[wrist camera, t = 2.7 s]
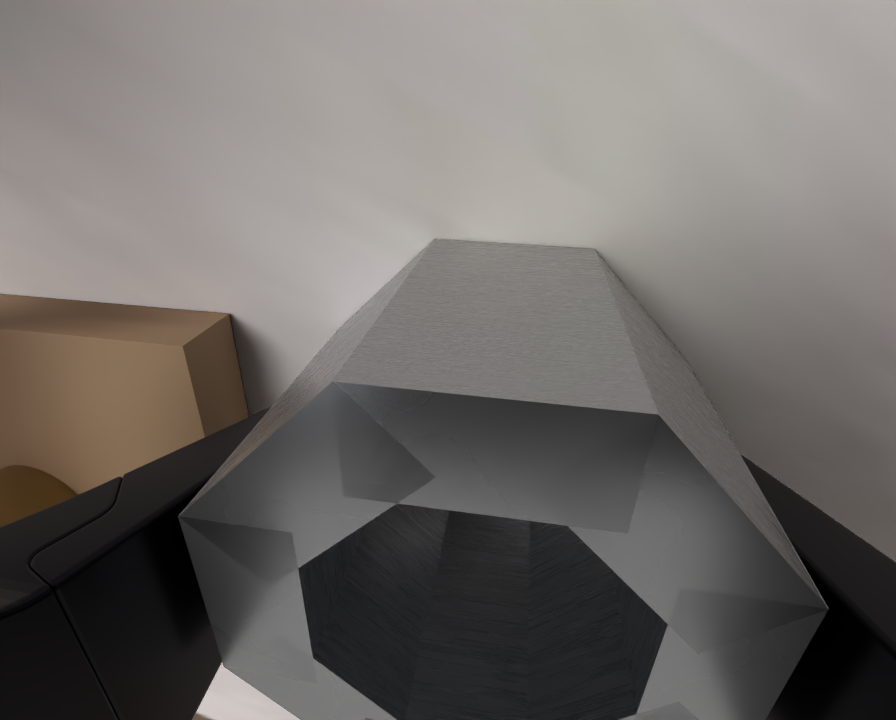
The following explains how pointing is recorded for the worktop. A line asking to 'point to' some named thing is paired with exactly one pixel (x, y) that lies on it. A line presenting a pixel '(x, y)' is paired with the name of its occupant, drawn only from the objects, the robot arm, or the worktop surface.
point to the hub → (499, 515)
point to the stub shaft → (104, 393)
